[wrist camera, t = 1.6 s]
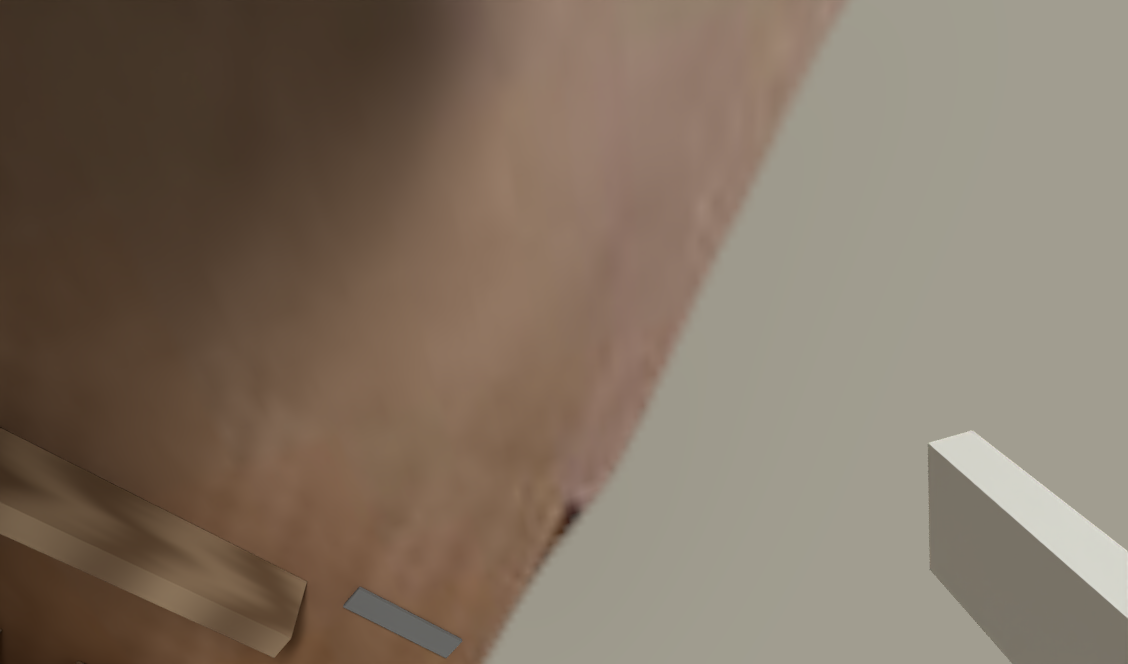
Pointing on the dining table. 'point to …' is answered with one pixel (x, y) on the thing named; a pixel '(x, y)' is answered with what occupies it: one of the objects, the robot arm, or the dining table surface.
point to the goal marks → (402, 622)
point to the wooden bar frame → (143, 548)
